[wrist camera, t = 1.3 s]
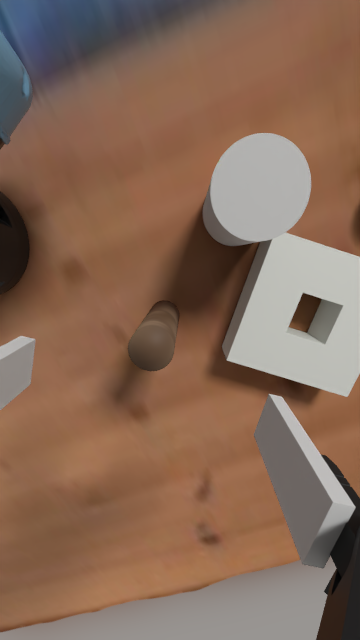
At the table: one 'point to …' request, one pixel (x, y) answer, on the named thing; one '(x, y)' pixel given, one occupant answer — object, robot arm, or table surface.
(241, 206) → the grey cylinder peg
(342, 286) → the socket block
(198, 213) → the table surface
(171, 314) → the walnut dowel
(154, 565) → the table surface
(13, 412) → the table surface
